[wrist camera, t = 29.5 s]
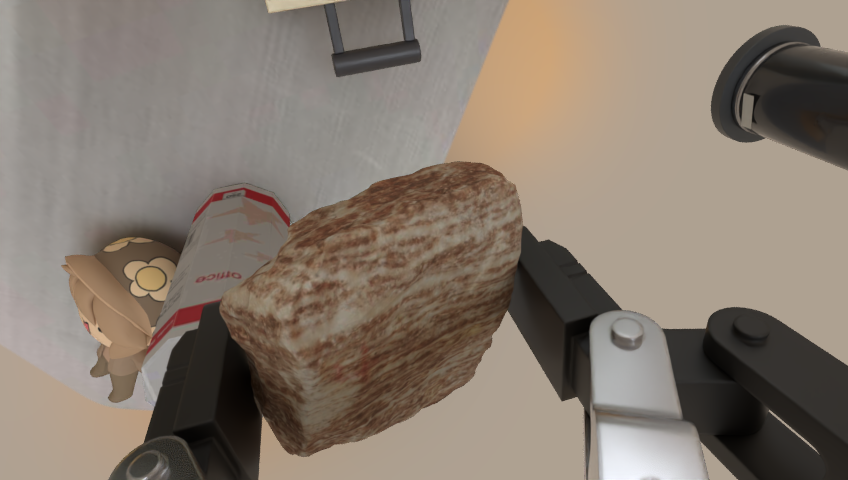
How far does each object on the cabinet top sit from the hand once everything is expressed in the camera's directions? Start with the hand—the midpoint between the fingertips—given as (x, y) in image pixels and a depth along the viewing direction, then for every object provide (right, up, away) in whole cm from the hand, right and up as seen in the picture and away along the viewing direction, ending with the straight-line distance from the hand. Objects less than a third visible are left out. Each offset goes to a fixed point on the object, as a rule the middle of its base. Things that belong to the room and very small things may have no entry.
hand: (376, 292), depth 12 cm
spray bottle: (-14, +3, +30) cm, 33 cm away
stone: (0, 0, +1) cm, 1 cm away
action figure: (-24, -3, +31) cm, 39 cm away
